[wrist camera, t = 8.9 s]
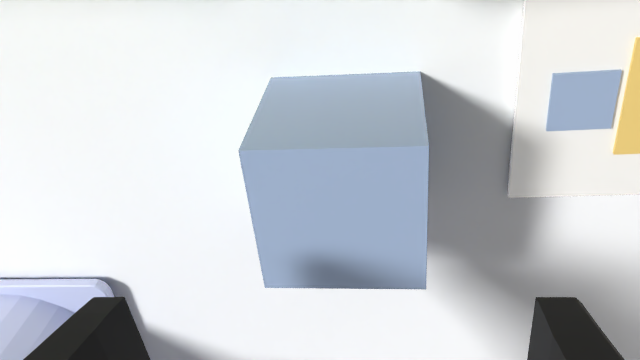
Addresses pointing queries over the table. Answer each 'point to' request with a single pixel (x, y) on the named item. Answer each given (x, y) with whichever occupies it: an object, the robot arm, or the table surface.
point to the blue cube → (340, 181)
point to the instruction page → (577, 100)
